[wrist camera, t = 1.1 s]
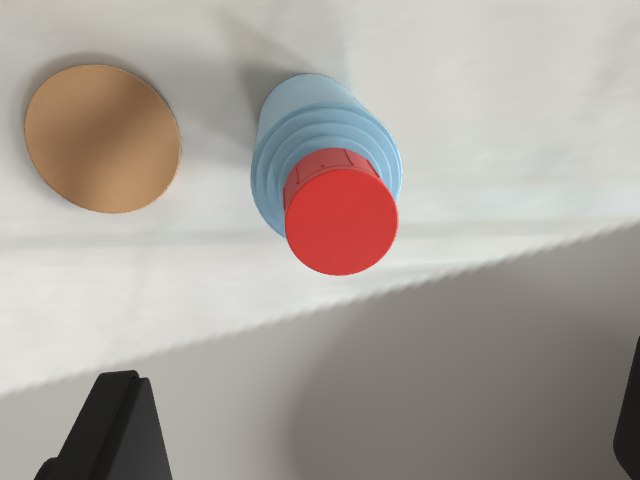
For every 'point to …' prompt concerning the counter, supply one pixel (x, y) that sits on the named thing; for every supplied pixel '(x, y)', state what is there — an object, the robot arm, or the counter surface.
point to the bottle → (314, 138)
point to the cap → (338, 212)
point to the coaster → (102, 138)
